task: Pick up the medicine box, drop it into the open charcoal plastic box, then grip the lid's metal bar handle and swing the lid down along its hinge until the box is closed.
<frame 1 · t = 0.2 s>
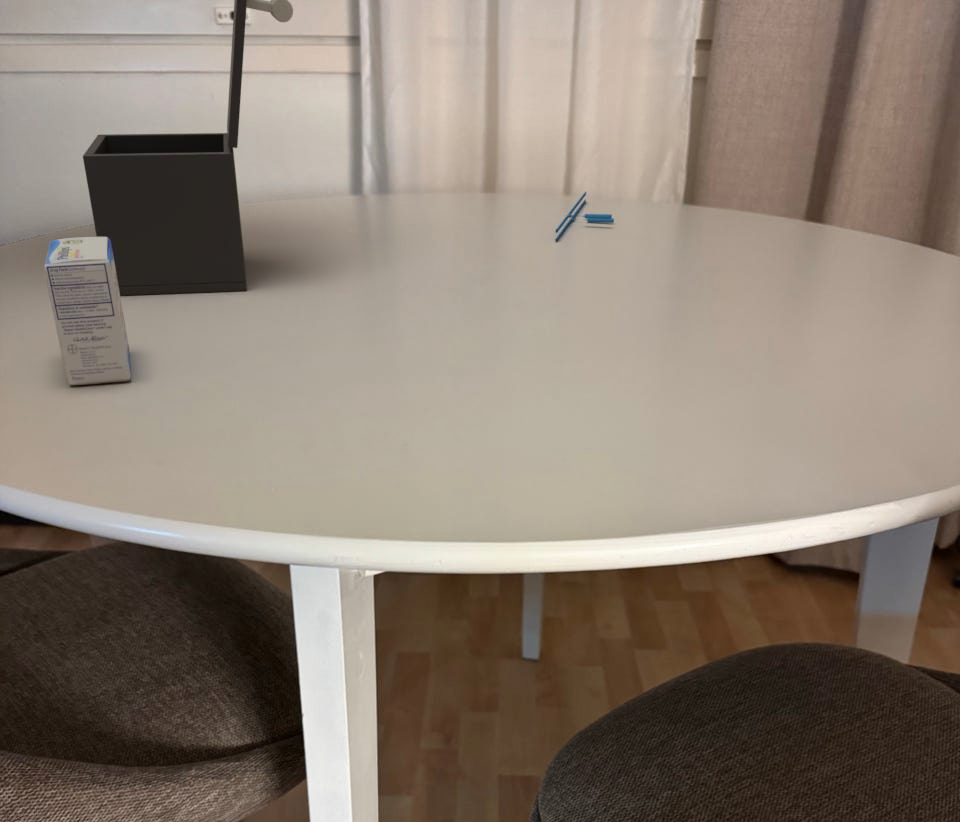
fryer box: (179, 275, 104), on the table
chopsticks: (592, 223, 129), on the table
lid: (259, 59, 95), point 19 cm above the table, hinge at 100.0°
medicine box: (100, 371, 80), on the table
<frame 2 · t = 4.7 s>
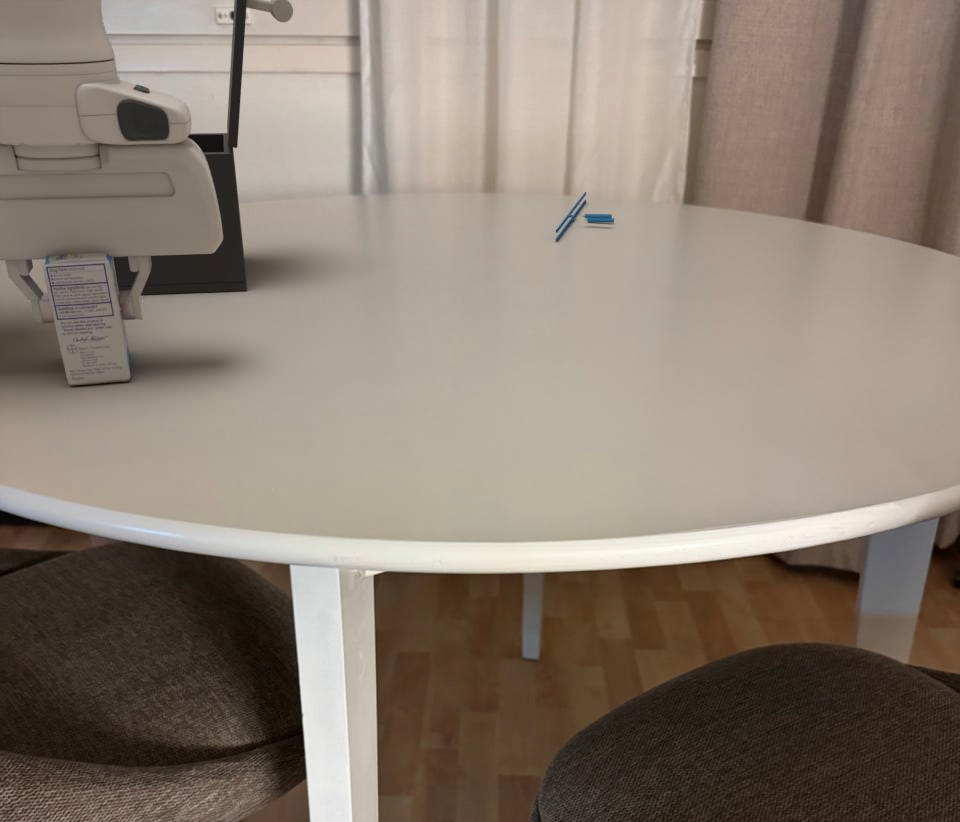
hand: (91, 319, 78), 4 cm above the table, tool pointing down, fingers closed on medicine box, 4 cm apart
medicine box: (100, 371, 80), on the table, touching gripper
everything else where it was.
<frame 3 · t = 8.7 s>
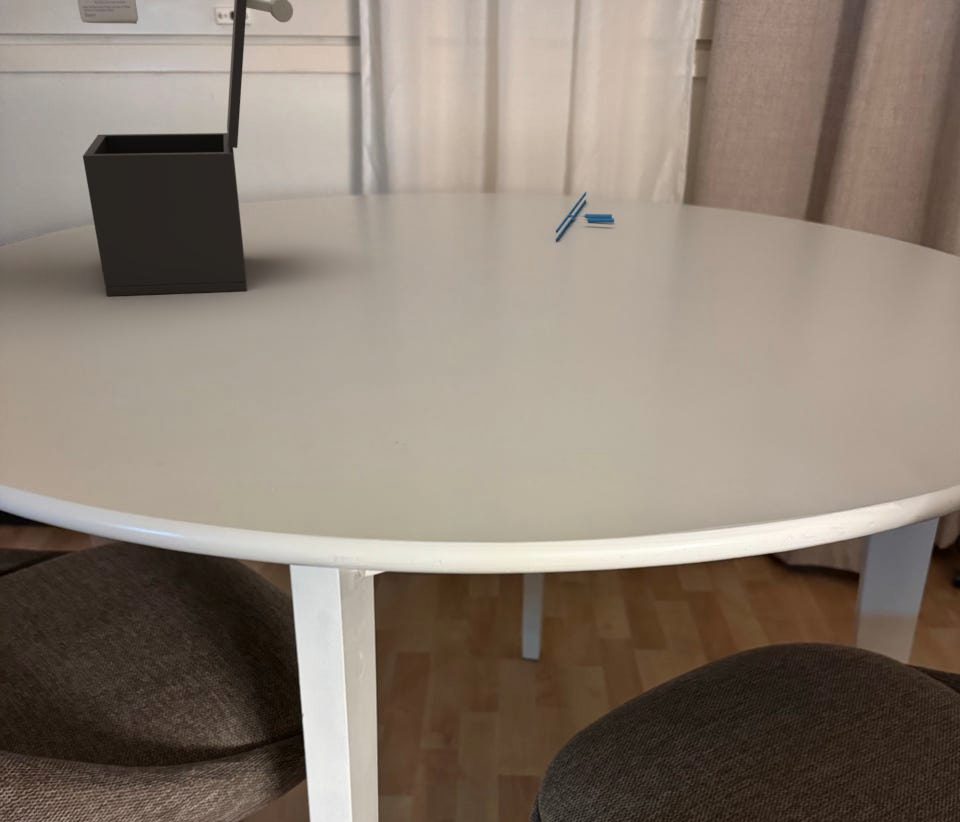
medicine box: (110, 24, 87), point 21 cm above the table, touching gripper
everything else where it was.
when the fingers open (13 cm above the table, at t = 12.5 s): medicine box drops 9 cm, resting on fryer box.
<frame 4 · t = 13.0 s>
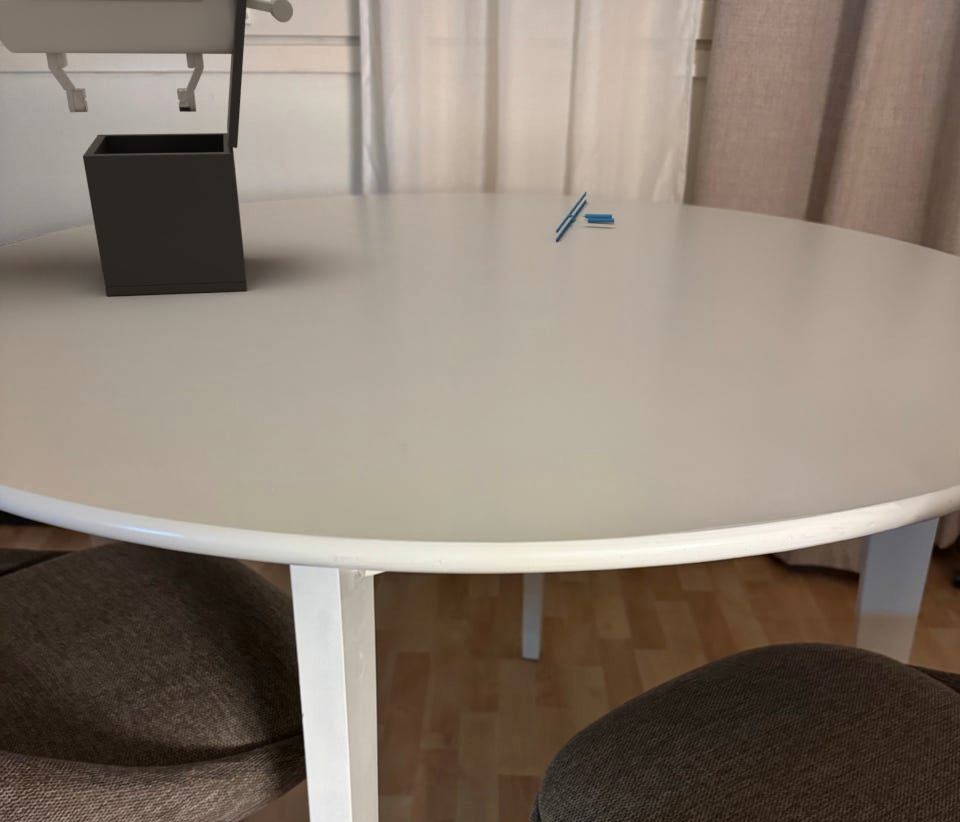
hand: (134, 111, 95), 14 cm above the table, tool pointing down, fingers open, 8 cm apart
medicine box: (150, 268, 103), point 1 cm above the table, touching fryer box
everything else where it was.
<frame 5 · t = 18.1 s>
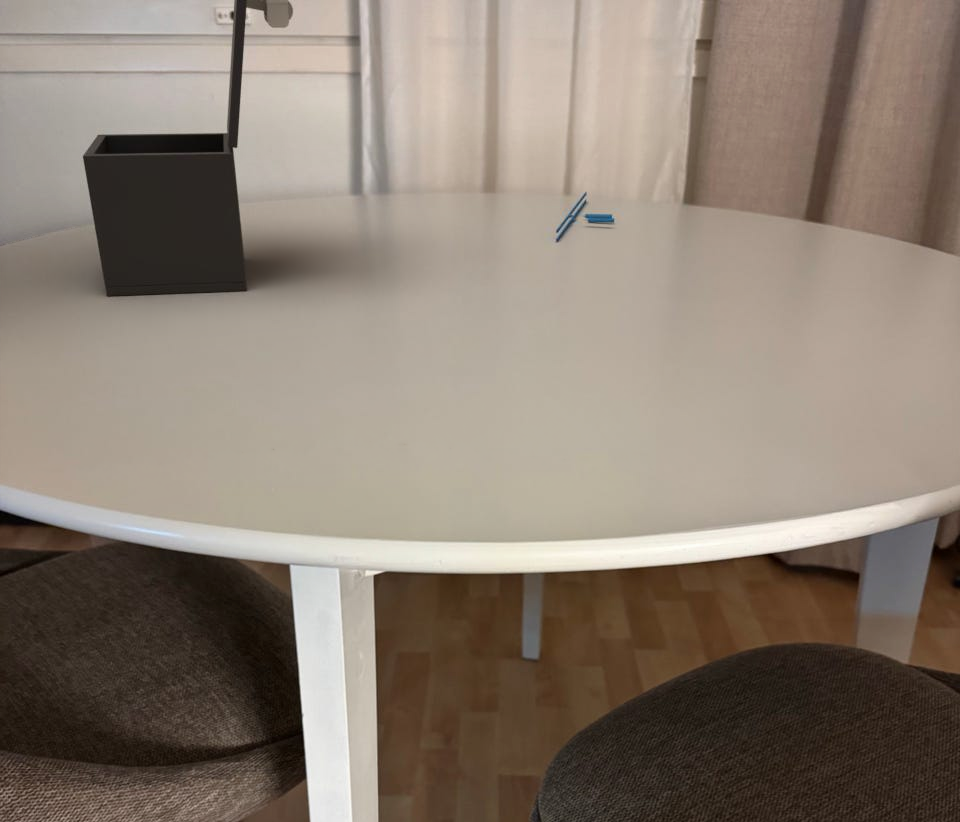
hand: (276, 25, 94), 21 cm above the table, tool pointing down, fingers closed on lid, 6 cm apart
lid: (259, 59, 95), point 19 cm above the table, hinge at 100.0°, touching gripper
everything else where it was.
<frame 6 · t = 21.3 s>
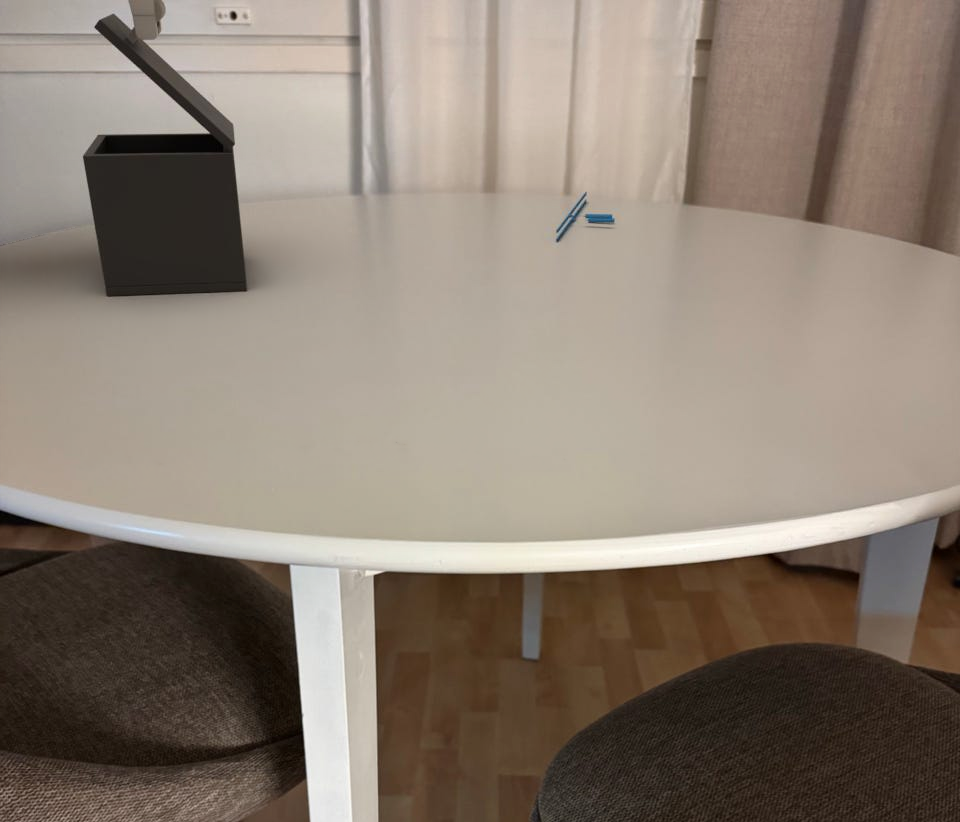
hand: (150, 36, 93), 20 cm above the table, tool pointing down, fingers closed on lid, 6 cm apart
lid: (183, 62, 94), point 18 cm above the table, hinge at 43.7°, touching gripper
everything else where it was.
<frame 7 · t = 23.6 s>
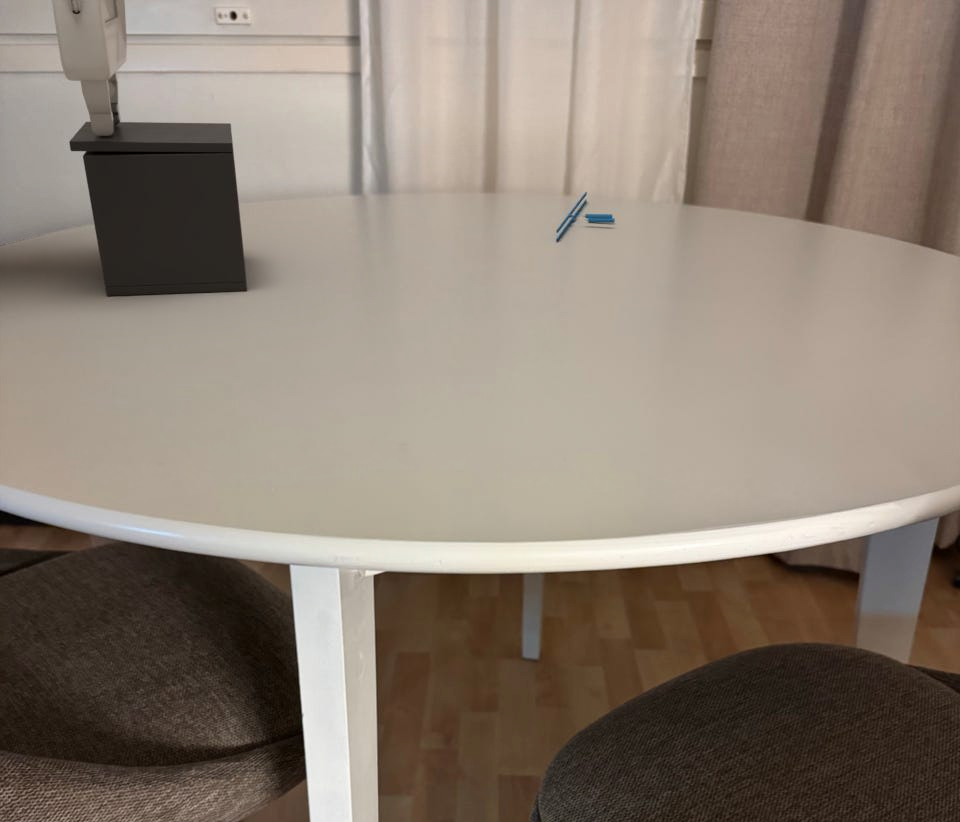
hand: (107, 129, 96), 13 cm above the table, tool pointing down, fingers closed on lid, 6 cm apart
lid: (153, 112, 96), point 14 cm above the table, hinge at 1.2°, touching gripper
everything else where it was.
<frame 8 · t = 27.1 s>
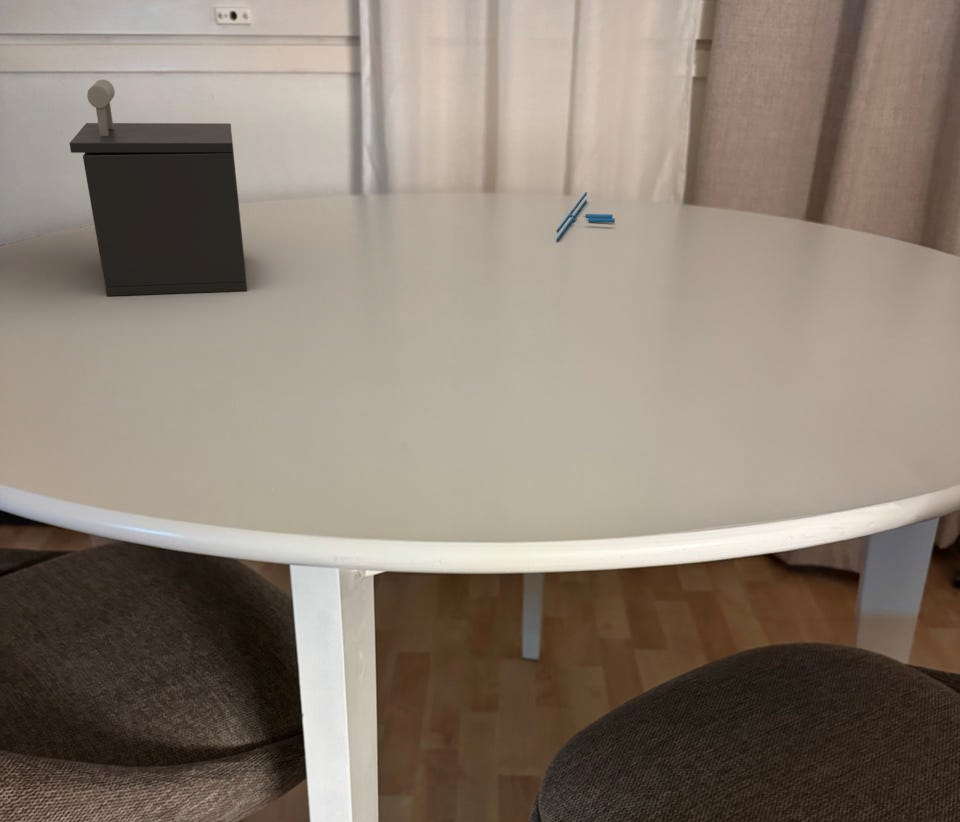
lid: (153, 112, 96), point 14 cm above the table, hinge at 0.7°
everything else where it was.
at the end: medicine box inside the target area in the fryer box (2.9 cm from its centre), point 0.6 cm above the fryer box's base; lid at +1° (first picture: +100°) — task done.
